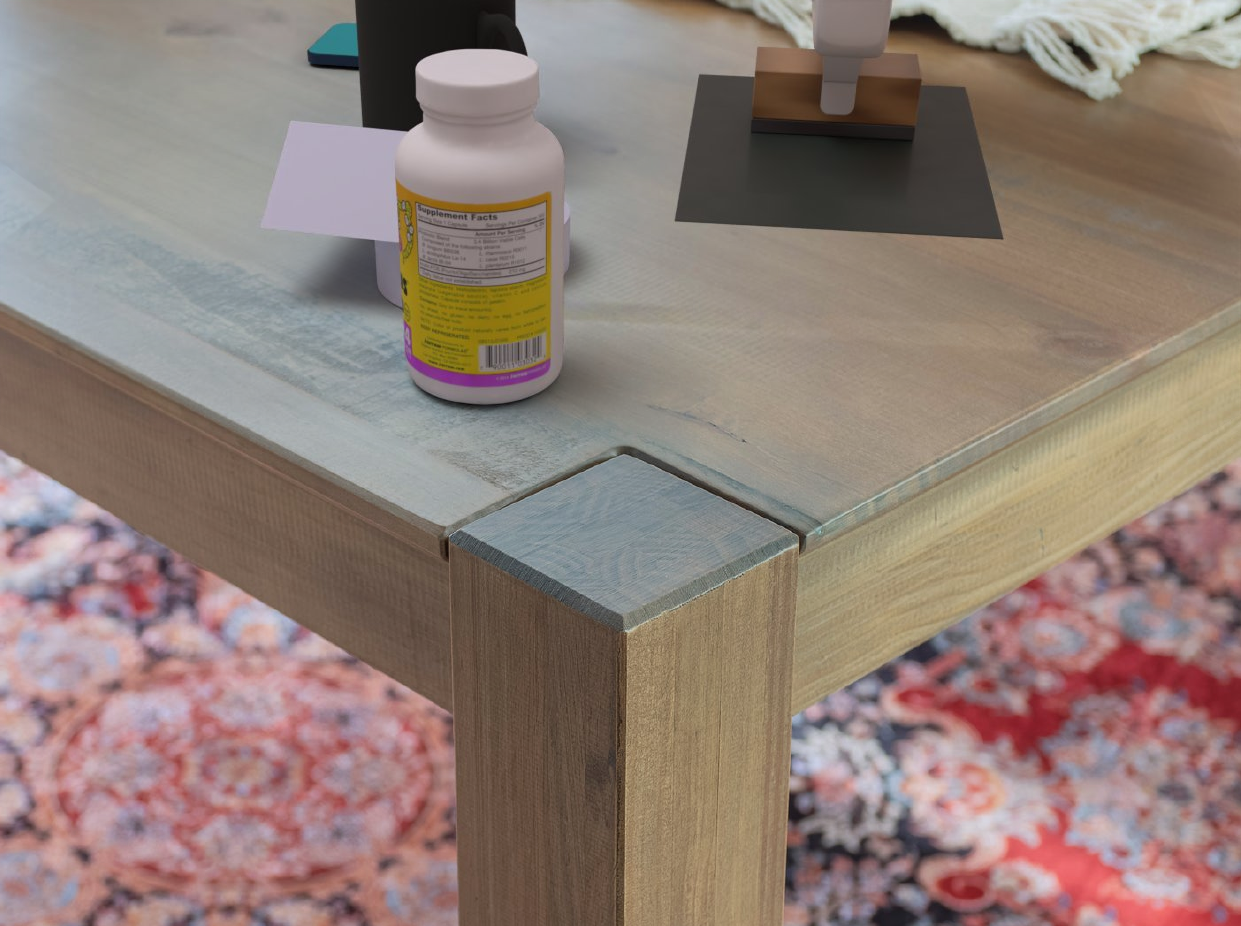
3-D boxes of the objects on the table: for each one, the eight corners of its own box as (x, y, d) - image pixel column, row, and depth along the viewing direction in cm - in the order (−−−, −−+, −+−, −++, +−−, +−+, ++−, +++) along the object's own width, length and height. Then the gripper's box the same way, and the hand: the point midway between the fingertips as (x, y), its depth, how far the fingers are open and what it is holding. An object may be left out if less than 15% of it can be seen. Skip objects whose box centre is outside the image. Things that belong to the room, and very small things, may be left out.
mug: (462, 221, 85) (457, 8, 79) (335, 155, 92) (321, -44, 86) (590, 186, 89) (594, -18, 83) (458, 126, 97) (453, -66, 90)
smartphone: (336, 19, 110) (560, 32, 108) (337, 32, 111) (560, 45, 109) (303, 53, 105) (539, 67, 103) (304, 66, 105) (539, 81, 103)
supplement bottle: (446, 330, 74) (436, 31, 67) (585, 356, 73) (591, 51, 65) (377, 393, 69) (358, 78, 62) (525, 423, 67) (524, 102, 60)
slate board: (963, 103, 101) (965, 86, 101) (1000, 258, 82) (1004, 238, 81) (698, 90, 103) (699, 73, 102) (673, 239, 83) (674, 220, 83)
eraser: (909, 114, 96) (917, 53, 94) (913, 141, 93) (922, 78, 91) (752, 106, 97) (757, 46, 95) (750, 132, 93) (754, 70, 91)
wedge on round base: (267, 297, 77) (541, 330, 75) (252, 153, 73) (542, 182, 71) (335, 226, 84) (588, 253, 82) (325, 90, 80) (591, 115, 78)
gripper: (940, -136, 77) (901, 160, 85) (914, -210, 94) (883, 44, 102) (802, -142, 78) (776, 154, 86) (800, -214, 94) (779, 39, 102)
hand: (834, 93), depth 94 cm, fingers closed on eraser, 4 cm apart
